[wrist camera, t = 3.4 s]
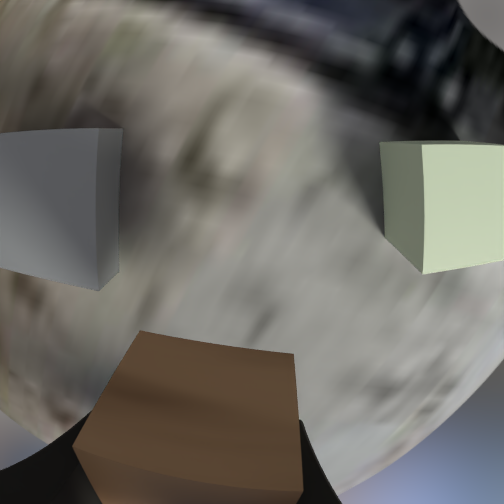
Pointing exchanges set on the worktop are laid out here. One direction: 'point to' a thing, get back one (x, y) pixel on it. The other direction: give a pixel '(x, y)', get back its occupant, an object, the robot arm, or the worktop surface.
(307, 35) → the worktop surface
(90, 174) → the slate tile
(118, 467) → the walnut cube
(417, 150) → the sage cube
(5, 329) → the worktop surface
